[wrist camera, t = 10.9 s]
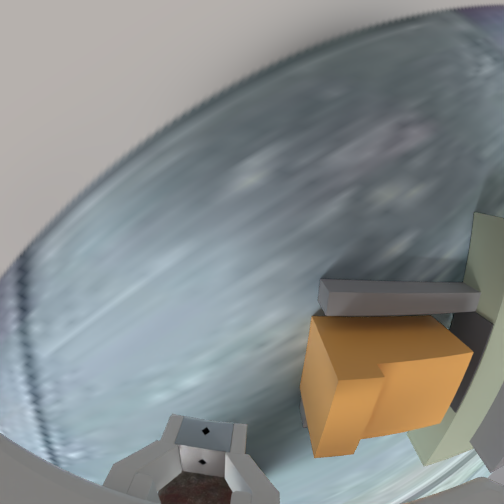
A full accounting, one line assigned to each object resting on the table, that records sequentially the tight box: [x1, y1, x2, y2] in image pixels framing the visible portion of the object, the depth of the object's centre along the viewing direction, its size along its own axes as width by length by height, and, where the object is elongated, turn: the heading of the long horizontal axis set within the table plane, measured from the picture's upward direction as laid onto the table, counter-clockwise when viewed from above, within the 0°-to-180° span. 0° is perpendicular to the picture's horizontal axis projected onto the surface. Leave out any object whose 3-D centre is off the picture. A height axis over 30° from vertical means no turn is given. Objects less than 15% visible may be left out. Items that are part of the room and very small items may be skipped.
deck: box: [299, 212, 504, 473], centre depth 11 cm, size 20×18×10 cm
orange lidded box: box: [300, 315, 473, 458], centre depth 13 cm, size 8×5×6 cm, turn 86°
